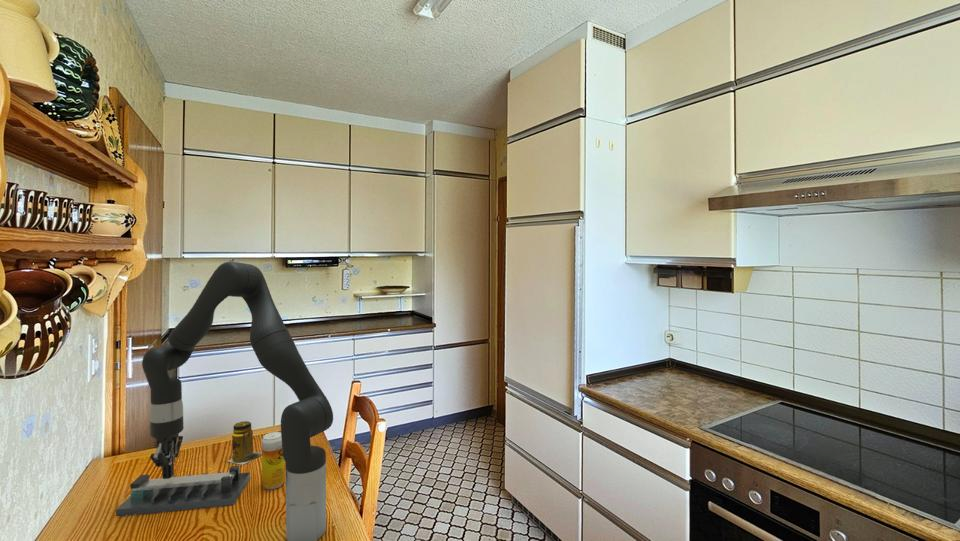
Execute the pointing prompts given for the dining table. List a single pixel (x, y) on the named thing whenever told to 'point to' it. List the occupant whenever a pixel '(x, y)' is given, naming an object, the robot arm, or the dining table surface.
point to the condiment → (243, 443)
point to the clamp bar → (177, 481)
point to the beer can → (272, 461)
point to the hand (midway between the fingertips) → (168, 477)
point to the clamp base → (186, 496)
